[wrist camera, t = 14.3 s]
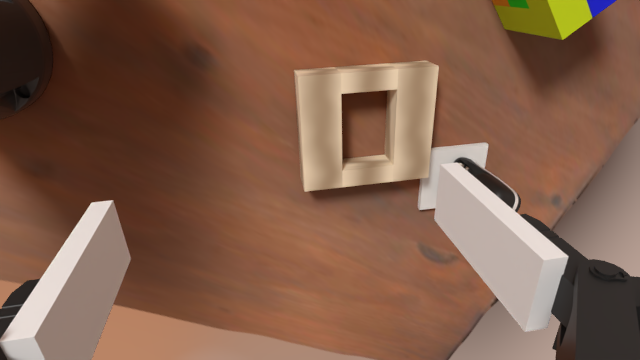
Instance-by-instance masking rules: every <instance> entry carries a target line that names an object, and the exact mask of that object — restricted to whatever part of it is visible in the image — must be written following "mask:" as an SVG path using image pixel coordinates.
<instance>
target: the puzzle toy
mask: <svg viewBox="0 0 640 360" xmlns="http://www.w3.org/2000/svg"><path fill="white" fill-rule="evenodd" d="M615 1H616V0H492V2H493V4H494V7H495V9H496V11H497V13H498V15H499V18H500V20H501V22H502V24H503V26H504V29H507V30H512V31H517V32H523V33H528V34H533V35H539V36H544V37H549V38H555V39H560V40H563V39H565V38H566V37H567V36H569V35H570V34H571V33H573V32H574V31H576V30H577V29H578V28H580V27H581V26H582V25H584V24H585V23H586V22H588V21H589V20H590V19H592V18H593V17H595V16H596V15H597V14H599V13H600V12H601V11H603V10H604V9H605V8H607V7H608V6H610V5H611V4H612V3H614V2H615Z"/></svg>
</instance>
